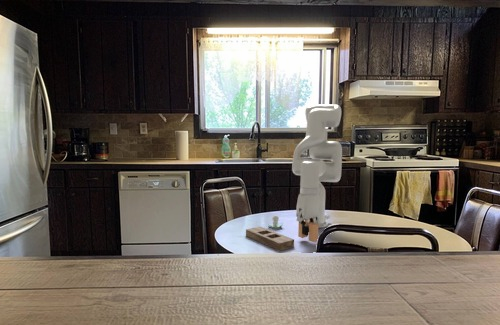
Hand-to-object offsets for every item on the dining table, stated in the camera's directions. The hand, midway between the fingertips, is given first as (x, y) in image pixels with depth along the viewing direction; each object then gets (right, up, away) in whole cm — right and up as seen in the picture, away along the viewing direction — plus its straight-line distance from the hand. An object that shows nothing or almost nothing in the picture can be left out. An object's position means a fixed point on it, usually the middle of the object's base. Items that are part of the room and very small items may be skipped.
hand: (308, 233), depth 140 cm
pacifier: (-12, -2, +22) cm, 25 cm away
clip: (0, -2, 0) cm, 2 cm away
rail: (-16, -4, +1) cm, 17 cm away
